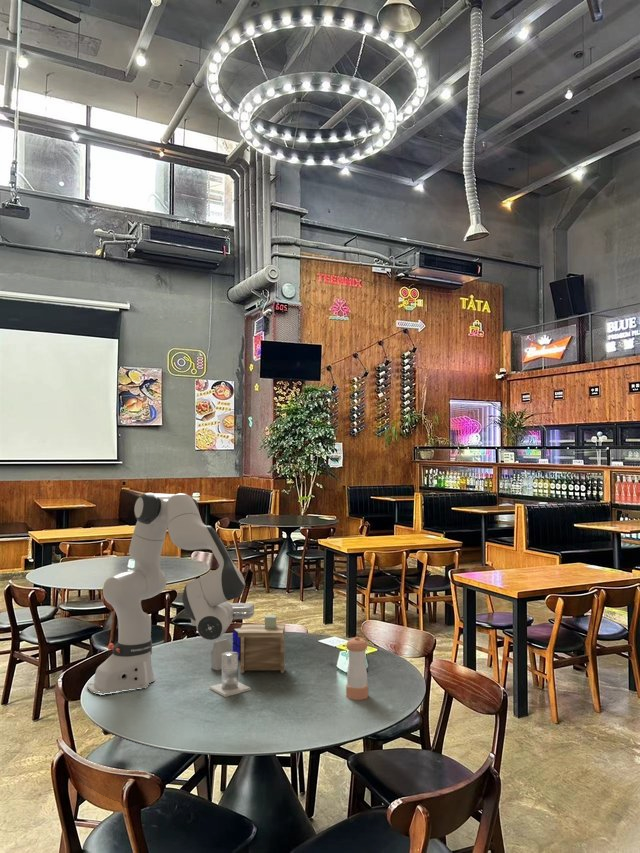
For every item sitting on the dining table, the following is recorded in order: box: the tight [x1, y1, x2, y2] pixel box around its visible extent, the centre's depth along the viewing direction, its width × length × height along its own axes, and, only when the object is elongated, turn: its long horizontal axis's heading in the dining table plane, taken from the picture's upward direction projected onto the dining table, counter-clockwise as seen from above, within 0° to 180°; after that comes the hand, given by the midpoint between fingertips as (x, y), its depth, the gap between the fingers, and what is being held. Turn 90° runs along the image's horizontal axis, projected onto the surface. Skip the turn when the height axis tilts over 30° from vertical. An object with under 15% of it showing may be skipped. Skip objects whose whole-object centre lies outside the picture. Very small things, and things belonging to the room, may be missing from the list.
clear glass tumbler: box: [221, 651, 239, 690], centre depth 210 cm, size 6×6×11 cm
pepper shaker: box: [345, 636, 369, 701], centre depth 204 cm, size 7×7×19 cm
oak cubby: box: [238, 623, 286, 674], centre depth 225 cm, size 12×16×16 cm
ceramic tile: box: [209, 681, 251, 698], centre depth 210 cm, size 10×10×1 cm
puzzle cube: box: [232, 627, 241, 661], centre depth 248 cm, size 10×10×10 cm
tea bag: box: [210, 638, 232, 671], centre depth 234 cm, size 4×7×10 cm, turn 139°
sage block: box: [264, 614, 277, 629], centre depth 228 cm, size 4×4×4 cm
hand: (225, 605), depth 204 cm, fingers open, 8 cm apart
